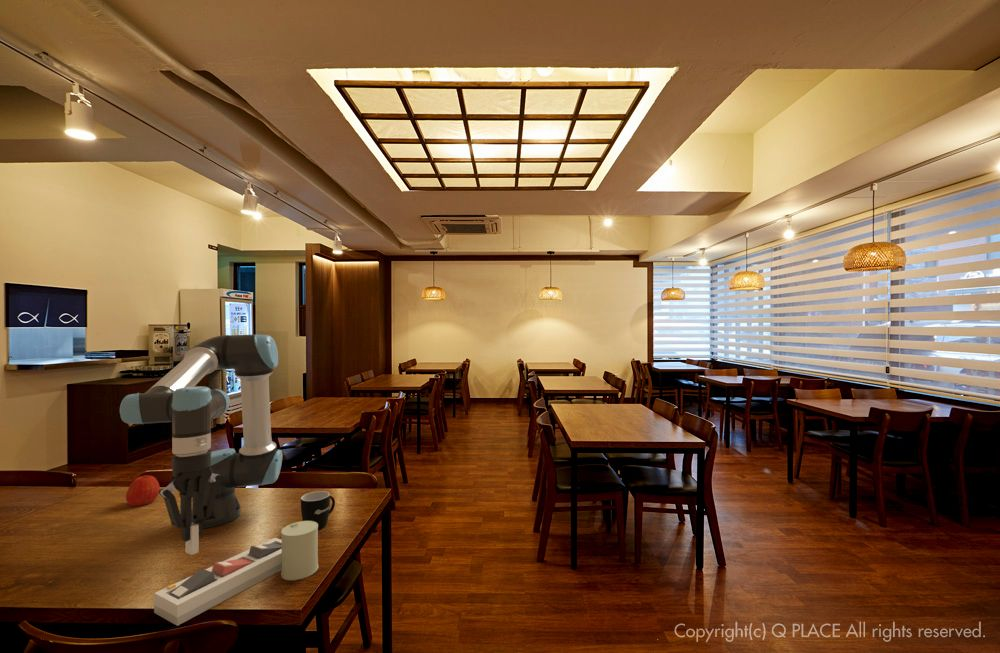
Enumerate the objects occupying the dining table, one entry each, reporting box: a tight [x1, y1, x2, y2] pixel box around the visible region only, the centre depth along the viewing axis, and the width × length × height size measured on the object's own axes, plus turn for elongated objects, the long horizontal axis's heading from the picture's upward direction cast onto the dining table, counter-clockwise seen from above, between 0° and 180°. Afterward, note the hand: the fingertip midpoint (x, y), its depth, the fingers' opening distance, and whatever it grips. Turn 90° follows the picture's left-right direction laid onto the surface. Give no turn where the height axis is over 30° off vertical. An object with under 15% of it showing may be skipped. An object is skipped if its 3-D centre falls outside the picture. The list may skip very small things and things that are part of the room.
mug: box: [300, 490, 336, 530], centre depth 144 cm, size 12×9×10 cm
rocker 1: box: [169, 568, 215, 599], centre depth 102 cm, size 8×5×2 cm, turn 153°
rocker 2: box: [249, 543, 282, 557], centre depth 118 cm, size 8×5×2 cm, turn 152°
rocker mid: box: [212, 559, 253, 575], centre depth 110 cm, size 8×5×2 cm, turn 152°
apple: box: [125, 474, 161, 507], centre depth 165 cm, size 10×10×10 cm
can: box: [280, 520, 319, 581], centre depth 116 cm, size 9×9×12 cm
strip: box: [153, 537, 282, 627], centre depth 113 cm, size 38×10×5 cm, turn 152°
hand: (192, 552), depth 102 cm, fingers closed
